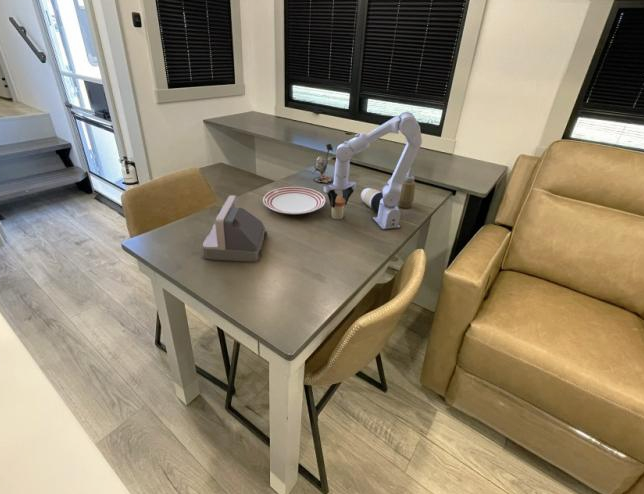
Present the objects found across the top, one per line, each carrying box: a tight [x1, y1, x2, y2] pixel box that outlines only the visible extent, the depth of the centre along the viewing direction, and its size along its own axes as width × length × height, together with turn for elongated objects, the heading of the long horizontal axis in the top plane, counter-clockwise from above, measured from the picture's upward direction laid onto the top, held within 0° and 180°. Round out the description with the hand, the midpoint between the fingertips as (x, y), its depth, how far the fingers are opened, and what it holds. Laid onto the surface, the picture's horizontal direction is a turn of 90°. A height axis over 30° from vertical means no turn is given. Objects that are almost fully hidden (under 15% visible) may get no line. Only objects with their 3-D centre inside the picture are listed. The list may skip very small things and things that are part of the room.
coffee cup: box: [360, 187, 383, 213], centre depth 145 cm, size 9×9×15 cm
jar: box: [330, 205, 346, 220], centre depth 138 cm, size 5×5×7 cm
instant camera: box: [202, 195, 268, 263], centre depth 113 cm, size 21×21×15 cm
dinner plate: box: [262, 186, 326, 216], centre depth 146 cm, size 27×27×3 cm
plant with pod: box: [312, 142, 334, 184], centre depth 169 cm, size 8×11×20 cm
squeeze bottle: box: [398, 167, 416, 209], centre depth 149 cm, size 8×8×18 cm
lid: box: [335, 196, 346, 207], centre depth 136 cm, size 6×6×2 cm
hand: (338, 205), depth 137 cm, fingers closed on lid, 5 cm apart
